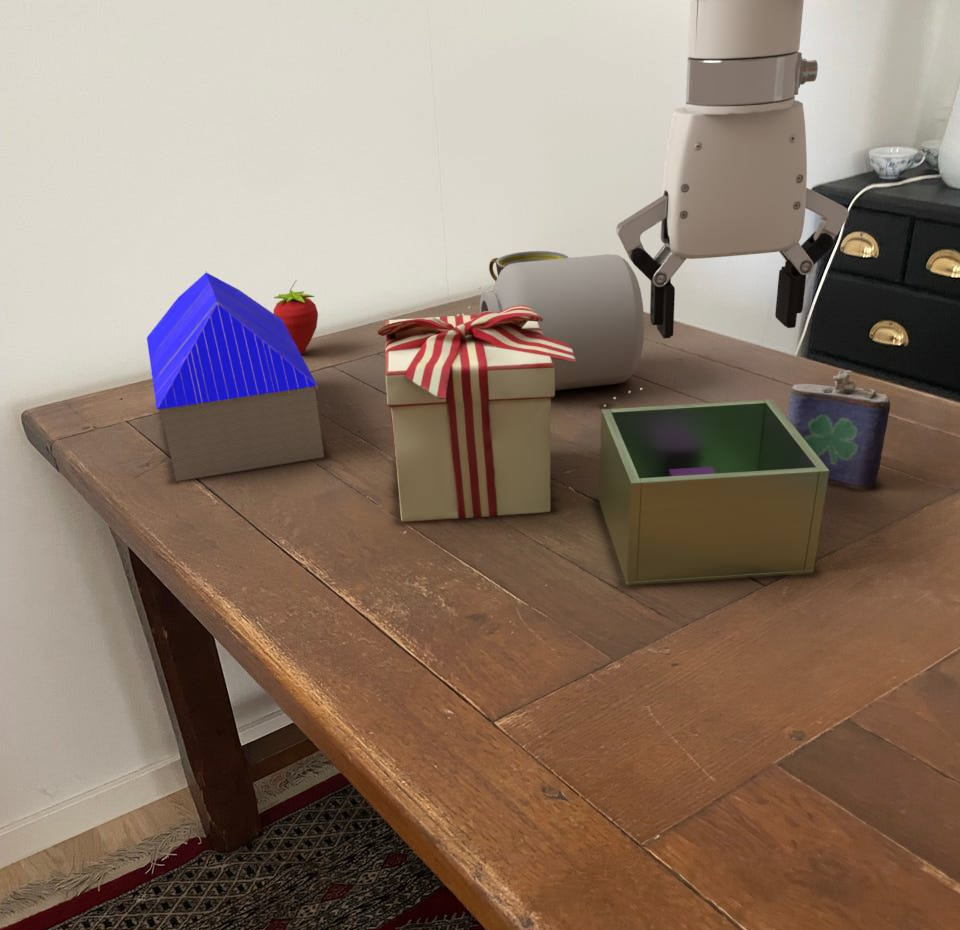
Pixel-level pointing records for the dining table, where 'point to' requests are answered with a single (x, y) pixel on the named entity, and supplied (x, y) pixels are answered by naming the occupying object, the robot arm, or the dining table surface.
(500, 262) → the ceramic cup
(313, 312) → the strawberry
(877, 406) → the flask
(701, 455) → the open box
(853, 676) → the dining table surface
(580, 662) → the dining table surface
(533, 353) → the gift box
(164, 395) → the house
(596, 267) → the jar
